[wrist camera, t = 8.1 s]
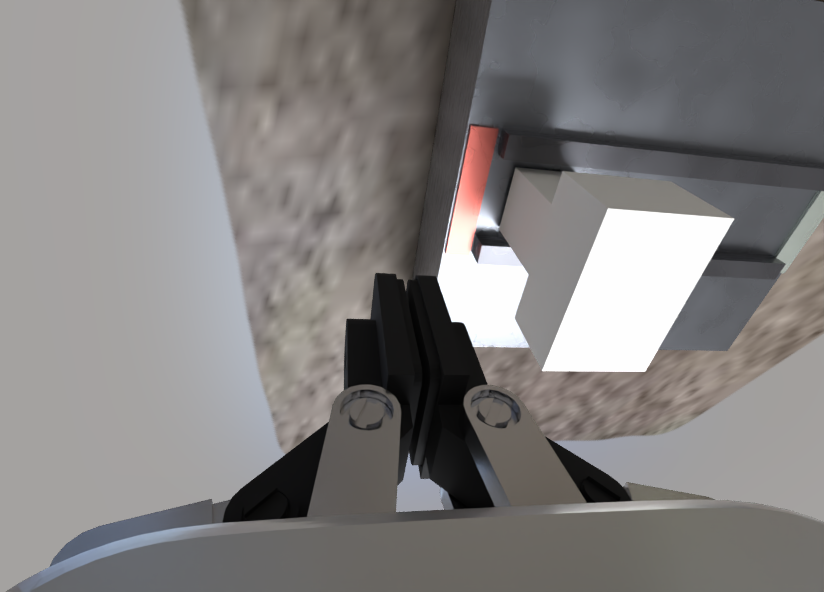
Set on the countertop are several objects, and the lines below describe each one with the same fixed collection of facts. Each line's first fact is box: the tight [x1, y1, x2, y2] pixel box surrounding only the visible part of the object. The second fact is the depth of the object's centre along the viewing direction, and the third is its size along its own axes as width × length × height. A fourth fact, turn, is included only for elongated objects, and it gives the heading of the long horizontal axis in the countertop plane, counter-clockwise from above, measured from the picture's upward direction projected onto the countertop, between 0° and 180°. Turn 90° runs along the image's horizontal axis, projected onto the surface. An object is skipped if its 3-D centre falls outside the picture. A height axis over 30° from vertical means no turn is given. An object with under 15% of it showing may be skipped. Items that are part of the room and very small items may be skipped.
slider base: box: [412, 0, 824, 351], centre depth 24 cm, size 18×20×7 cm
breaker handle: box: [499, 167, 734, 372], centre depth 17 cm, size 6×4×8 cm, turn 172°
